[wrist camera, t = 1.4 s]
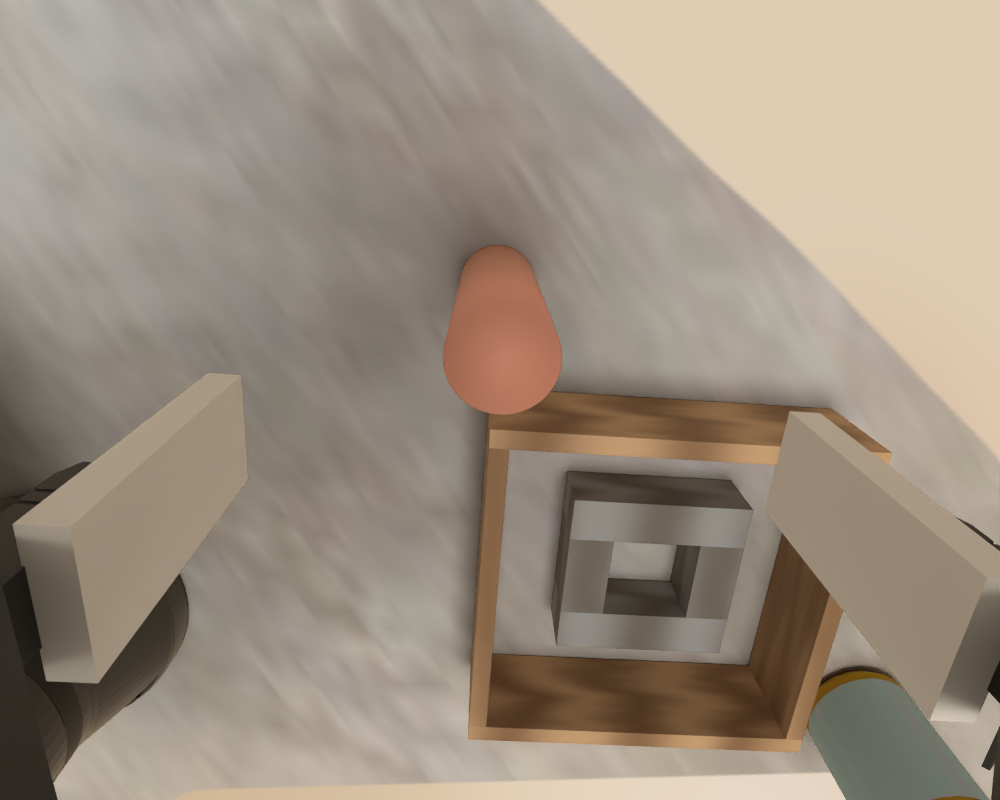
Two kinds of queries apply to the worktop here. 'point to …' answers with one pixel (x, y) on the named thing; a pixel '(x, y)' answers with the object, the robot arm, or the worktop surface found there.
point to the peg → (501, 335)
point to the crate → (651, 586)
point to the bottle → (883, 743)
